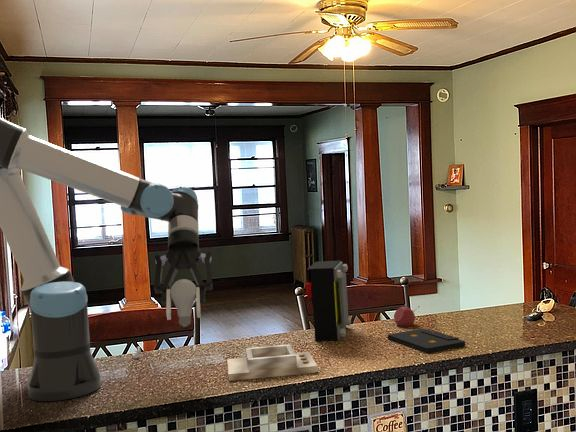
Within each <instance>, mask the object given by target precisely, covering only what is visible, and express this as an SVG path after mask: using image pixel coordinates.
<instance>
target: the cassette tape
mask: <svg viewBox="0 0 576 432" xmlns="http://www.w3.org/2000/svg"><path fill="white" fill-rule="evenodd" d="M387 340H388V341H391V342H394V343H396V344H399V345H402V346H405V347H408V348H411V349H413V350H417V351H418V352H419V351H420V352H422V353H424V354H432V353H433V354H434V353H440V352H445V351H448V349H450V350H454V349H453V348H455V349H459V347H461V348H464V346H465V347H466V340H462V339H459V337H456V336H452V335H449V334H446V333H443V332H439V331H435V330H432V329H429V328H428V329H426V328H418V329H412V330H406V331H401V332H400V331H399V332H395V333H388V334H387ZM444 350H445V351H444Z"/></svg>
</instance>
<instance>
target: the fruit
mask: <svg viewBox="0 0 576 432" xmlns="http://www.w3.org/2000/svg"><path fill="white" fill-rule="evenodd" d="M418 308H420V306H418ZM415 310H417V308H415ZM415 310H412V309H411V308H410V307H407V306H400V307H398V308H397V309H396V310H395V312H394V314H393V319H394V322H395V324H396V325H397V326H398V327H401V328H404V327H405V328H407V327H412V326H413V325H414V322H415V320H416V316H415V313H414V312H415Z"/></svg>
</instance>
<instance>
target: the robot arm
mask: <svg viewBox="0 0 576 432" xmlns="http://www.w3.org/2000/svg"><path fill="white" fill-rule="evenodd" d="M21 170H23V171H25V172H28V173H31V174H33V175H36V176H39V177H42V178H44V179H47V180H50V181H53V182H55V183H58V184H60V185H63V186H66V187H69V188H72V189H74V190H77V191H80V192H83V193H86V194H88V195H91V196H93V197H97V198H99V199H102V200H105V201H107V202H111V203H112V204H116V205H119V206H120V210H121V211H122V212H123V213H124V214H125V213H126V214H129V215H133V216H139V217H144V218H149V219H155V220H159V221H165V222H167V223H168V226H167V227H168V229H167V230H168V231H167V237H168V238H167V251H166V252H165V254H164V255H162V256H160V254H155V255H154V260H155V265H156V266H155V273H154V283H153V289H154V294H156V295H159V294H160V295H161V303H162V304H161V305H162V307H166V309H165V313H166V319H167V321H169V320H172V299H171V296H170V290H171V287H172V285H173V284H174V283H173V282H174V281H175V277H176V276H177V274H178V272H179V271H181V270H189V271H190V274H191V275H192V277H193V279H194V281H195V285H196V289H197V291H196V299H195V301H196V304H195V305H196V306H195V307H196V318H197V319H198V318H199V319H200V318H202V317H201V316H202V315H201V312H202V311H201V304H205V303H206V292H207V291H208V292H209V291H211V292H212V291H213V289H214V288H213V278H212V271H211V263H212V252H210V251H207V252H206V253H203V252H201V250H200V241H199V239H200V238H199V235H200V234H199V201H198V196H197V194H196V193H197V192H196V191H194V190H193V189H192V188H190V187H186V186H181V187H178V186H177V187H175V188H173V189H172V190H171V189H170V188H169V187H167V186H166V185H163V184H160V183H153V182H151V181H148V180H146V179H142V178H140V177H138V176H135V175H133V174H131V173H128V172H125V171H123V170H120V169H118V168H115V167H112V166H110V165H107V164H104V163H102V162H99V161H96V160H94V159H92V158H89V157H86V156H84V155H81V154H79V153H77V152H73V151H71V150H68V149H66V148H63V147H61V146H58V145H55V144H52V143H51V142H48V141H45V140H43V139H40V138H37V137H35V136H33V135H30V134H29V132H28V130H27V128H26V127H25V128H24V127H22V126H20V125H17V124H15V123H13V122H10V121H9V120H6V119H5V118H2V116H1V117H0V229H1V232H2V233H3V236H4V238H5V241H6V242H7V246H8V247H9V249H10V251H11V254H12V256H13V258H14V261H15V263H16V264H17V267H18V269H19V271H20V274H21V276H22V279H23V283H22V285H21V288H20V290H21V293H22V294H23V297H24V300H25V302H26V303H27V306H28V308H29V311H30V315H31V328H32V342H33V355H34V356H33V357H34V359H33V360H34V362H33V365H32V369H31V373H30V377H29V380H28V384H27V392H28V393H27V395H28V398H29V399H31V400H33V401H36V402H38V401H39V402H54V401H55V402H56V401H64V400H70V399H75V398H80V397H83V396H86V395H89V394H91V393H93V392H95V391H97V390H98V389H100V388H101V386H102V382H101V381H102V380H101V374H100V371H99V369H98V366H97V364H96V361H95V359H94V357H93V354H92V351H91V340H90V328H89V327H90V325H89V313H88V311H89V310H88V301H89V299H88V297H89V296H88V294H87V289H86V287H85V286H84V285H83V284H82V283H80V282H75V280H74V277H73V275H72V273H71V270H70V269H69V268H67V267H64V266H62V265H61V264H60V262H59V260H58V258H57V255H56V253H55V251H54V248H53V246H52V244H51V242H50V239H49V237H48V235H47V232H46V230H45V228H44V225H43V223H42V222H41V219H40V215H39V214H38V211H37V209H36V208H35V204H34V202H33V201H32V198H31V196H30V194H29V192H28V190H27V187H26V184H25V182H24V179H23V177H22V176H21V174H20V173H21ZM200 260H201V261H202V263H203V264H204V270H205V279H206V282H204V280H203V278H202V276H201V273H200V271H199V269H198V267H197V263H198V262H199V261H200ZM166 262H168V263H169V265H170V266H169V269H168V272H167V274H166V277H165V279H164V281H163V283H162V279H163V270H164V268H163V267H164V266H165V264H166Z"/></svg>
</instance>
